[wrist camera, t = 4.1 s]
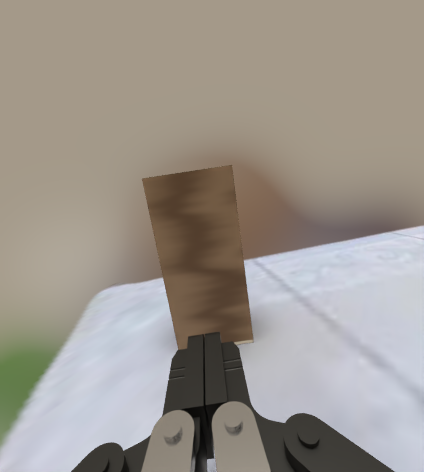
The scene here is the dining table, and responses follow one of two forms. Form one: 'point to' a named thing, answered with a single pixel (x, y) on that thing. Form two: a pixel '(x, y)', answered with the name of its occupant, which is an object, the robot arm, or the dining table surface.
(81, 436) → the dining table surface
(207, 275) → the walnut block
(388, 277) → the dining table surface
